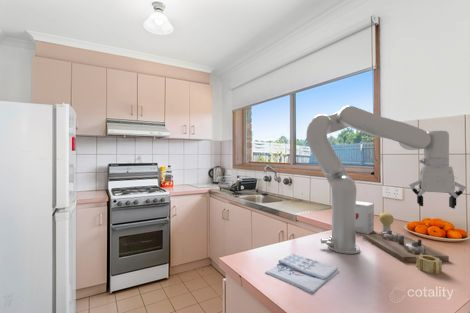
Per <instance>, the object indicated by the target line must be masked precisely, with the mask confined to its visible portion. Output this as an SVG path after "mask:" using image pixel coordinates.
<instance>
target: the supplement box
mask: <svg viewBox="0 0 470 313" xmlns="http://www.w3.org/2000/svg"><path fill="white" fill-rule="evenodd" d="M374 218H375V203H371V202H366V201H358V200H356V233H361V234H363V235H364V234H372V233H373V231H375V230H374V229H375V228H374V227H375V220H374Z"/></svg>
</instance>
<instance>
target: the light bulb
mask: <svg viewBox="0 0 470 313" xmlns="http://www.w3.org/2000/svg"><path fill="white" fill-rule="evenodd" d="M378 218H379V219H378V220H379V222H380V223H381V224H382V225H381V226H382V228H381V229H382V232H384V231H386V232H387V230H391V225H392V224H393V222H394V220H395V219H394V216H393V215H392V214H391V213H389V212H382V213H380V215H379V217H378Z"/></svg>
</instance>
